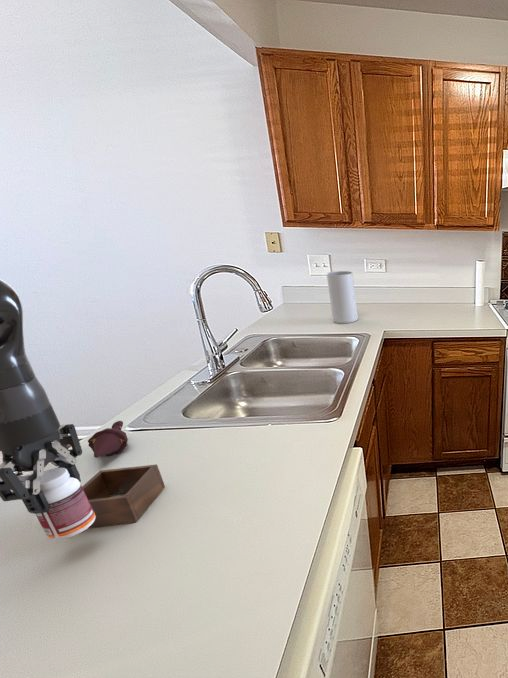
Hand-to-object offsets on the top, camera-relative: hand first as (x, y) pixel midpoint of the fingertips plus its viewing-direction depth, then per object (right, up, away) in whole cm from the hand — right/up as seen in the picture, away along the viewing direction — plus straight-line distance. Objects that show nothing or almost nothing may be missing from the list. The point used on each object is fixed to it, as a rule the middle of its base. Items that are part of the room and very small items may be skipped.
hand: (57, 497), depth 67 cm
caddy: (-2, -7, +14) cm, 16 cm away
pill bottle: (0, -6, +3) cm, 7 cm away
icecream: (-20, 0, +32) cm, 38 cm away
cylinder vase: (0, +44, +144) cm, 150 cm away
